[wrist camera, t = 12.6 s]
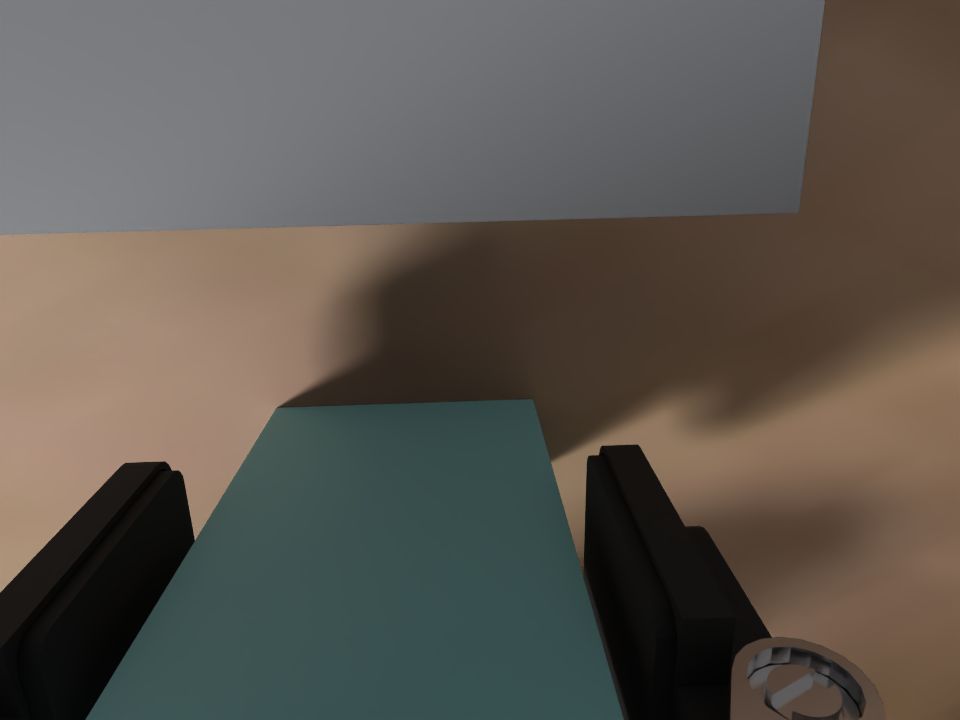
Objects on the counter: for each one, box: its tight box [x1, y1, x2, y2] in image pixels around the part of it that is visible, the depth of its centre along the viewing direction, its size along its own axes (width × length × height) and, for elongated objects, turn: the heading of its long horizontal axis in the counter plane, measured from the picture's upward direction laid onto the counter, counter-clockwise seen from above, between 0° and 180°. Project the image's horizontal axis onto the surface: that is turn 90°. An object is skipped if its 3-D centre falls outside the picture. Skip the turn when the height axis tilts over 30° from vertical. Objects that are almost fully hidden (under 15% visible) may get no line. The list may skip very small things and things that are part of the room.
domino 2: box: [86, 399, 624, 720], centre depth 9 cm, size 2×5×10 cm, turn 92°
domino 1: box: [0, 0, 825, 235], centre depth 7 cm, size 2×5×10 cm, turn 92°
